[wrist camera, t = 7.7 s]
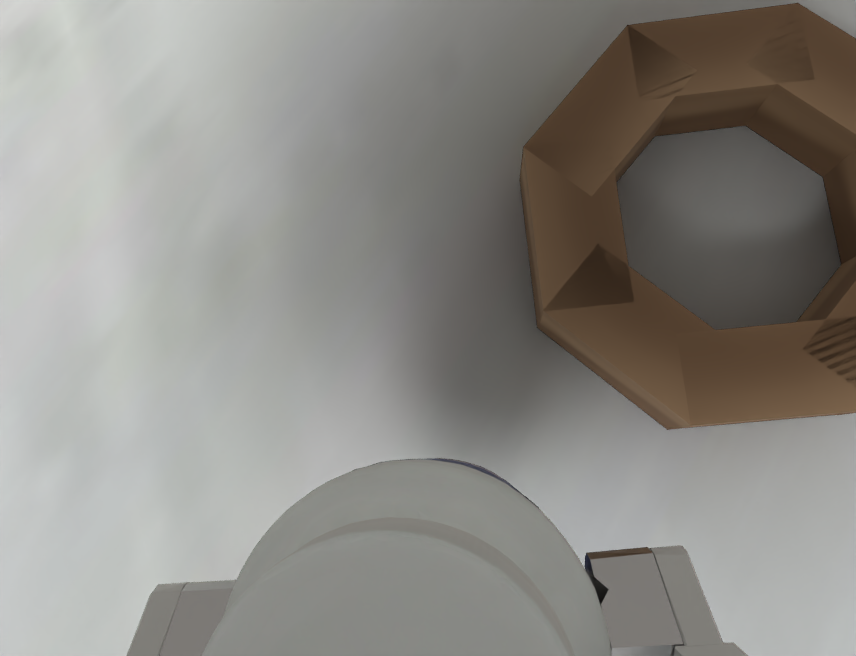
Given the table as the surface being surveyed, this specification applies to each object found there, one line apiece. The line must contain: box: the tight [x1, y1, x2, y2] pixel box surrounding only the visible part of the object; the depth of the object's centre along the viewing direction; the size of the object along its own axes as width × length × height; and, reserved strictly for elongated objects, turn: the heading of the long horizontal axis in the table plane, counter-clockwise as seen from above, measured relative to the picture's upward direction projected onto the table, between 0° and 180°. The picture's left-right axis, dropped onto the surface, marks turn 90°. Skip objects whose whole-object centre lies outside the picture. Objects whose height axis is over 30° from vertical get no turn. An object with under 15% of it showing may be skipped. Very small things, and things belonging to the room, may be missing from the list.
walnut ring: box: [520, 3, 856, 430], centre depth 20 cm, size 12×12×2 cm
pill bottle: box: [202, 458, 612, 656], centre depth 11 cm, size 5×5×10 cm
